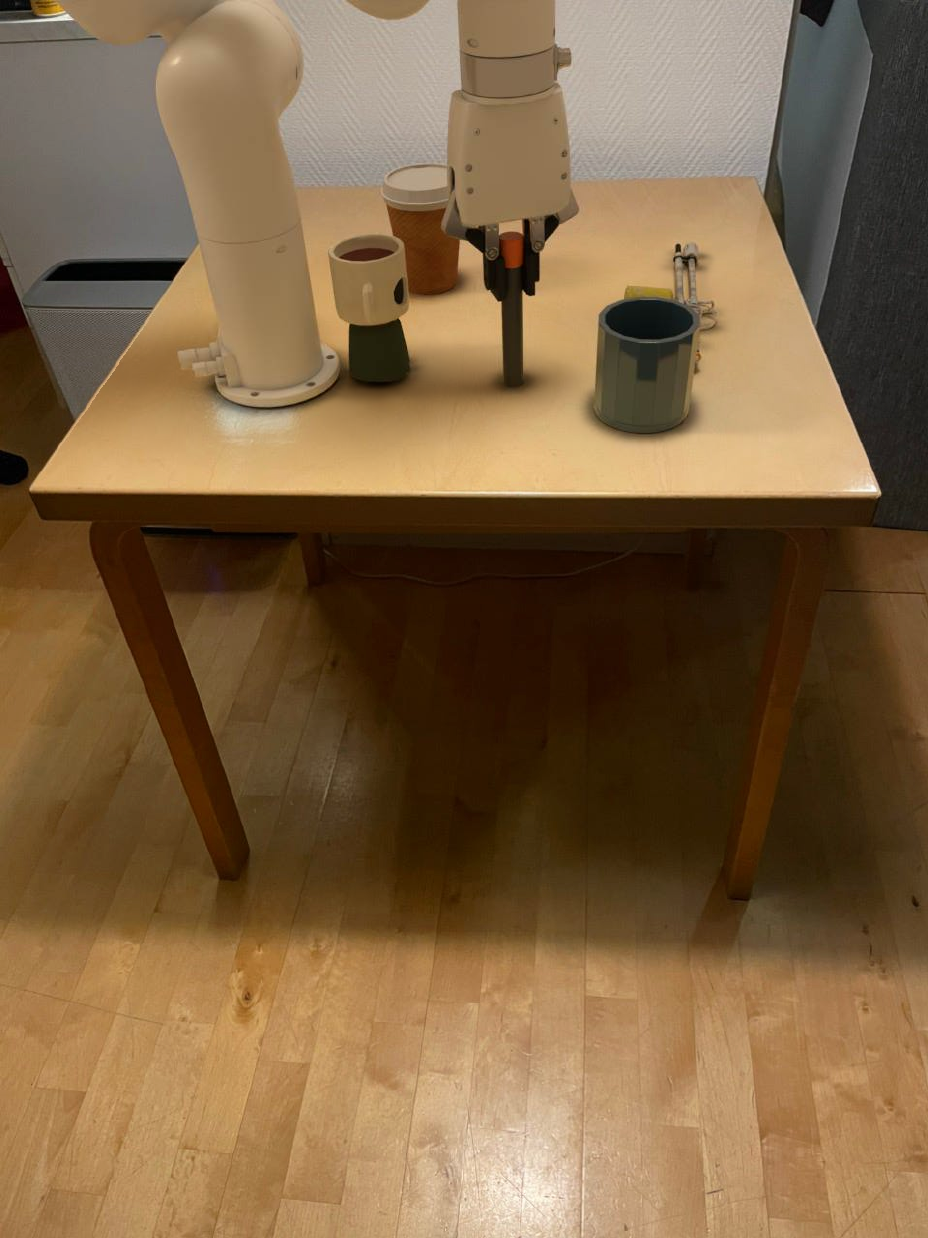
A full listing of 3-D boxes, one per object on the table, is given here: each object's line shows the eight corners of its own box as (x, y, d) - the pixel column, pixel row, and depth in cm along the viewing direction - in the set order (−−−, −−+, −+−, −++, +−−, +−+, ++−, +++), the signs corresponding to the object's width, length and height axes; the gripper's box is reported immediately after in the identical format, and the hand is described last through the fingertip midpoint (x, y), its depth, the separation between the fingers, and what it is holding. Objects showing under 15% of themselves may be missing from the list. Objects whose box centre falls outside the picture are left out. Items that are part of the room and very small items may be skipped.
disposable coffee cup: (483, 271, 115) (480, 165, 107) (449, 305, 109) (443, 196, 101) (412, 261, 118) (404, 157, 110) (375, 293, 112) (363, 186, 104)
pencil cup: (614, 440, 88) (621, 349, 82) (580, 393, 94) (584, 305, 88) (704, 423, 89) (717, 332, 83) (664, 377, 96) (674, 290, 89)
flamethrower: (618, 368, 96) (720, 377, 95) (621, 343, 94) (726, 351, 93) (626, 253, 117) (710, 259, 116) (629, 231, 116) (714, 237, 115)
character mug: (416, 398, 95) (405, 269, 86) (343, 404, 95) (324, 274, 86) (414, 345, 103) (403, 221, 94) (347, 350, 103) (330, 226, 94)
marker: (506, 388, 95) (502, 242, 86) (499, 378, 97) (495, 233, 87) (527, 384, 96) (526, 238, 86) (520, 374, 97) (518, 229, 87)
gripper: (585, 48, 81) (578, 263, 94) (399, 73, 79) (418, 290, 91) (619, 70, 76) (607, 295, 89) (421, 97, 74) (438, 325, 86)
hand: (511, 291), depth 90 cm, fingers closed on marker, 2 cm apart
